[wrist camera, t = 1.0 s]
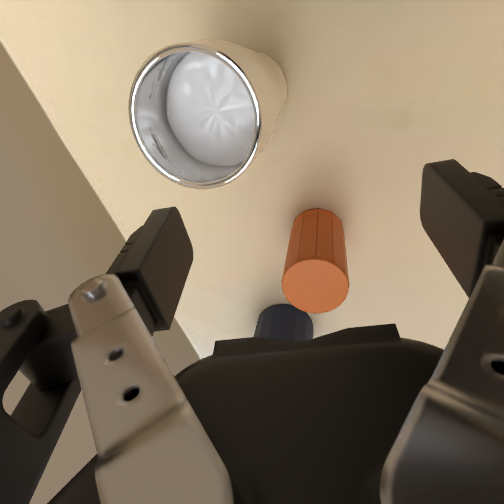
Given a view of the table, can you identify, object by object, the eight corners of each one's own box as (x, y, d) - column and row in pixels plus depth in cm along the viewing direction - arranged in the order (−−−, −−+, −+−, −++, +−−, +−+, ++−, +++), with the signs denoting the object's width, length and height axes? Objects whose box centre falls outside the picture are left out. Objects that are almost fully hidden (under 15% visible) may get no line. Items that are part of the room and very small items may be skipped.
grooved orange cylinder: (299, 203, 33) (291, 251, 25) (350, 216, 33) (358, 269, 25) (286, 246, 36) (275, 303, 28) (333, 259, 35) (336, 320, 27)
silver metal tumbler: (204, 121, 31) (119, 169, 18) (221, 32, 27) (129, 13, 14) (278, 145, 31) (244, 211, 18) (304, 59, 27) (286, 65, 14)
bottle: (264, 297, 39) (230, 432, 25) (320, 313, 39) (317, 458, 25) (252, 337, 43) (217, 475, 29) (304, 352, 43) (293, 499, 28)
